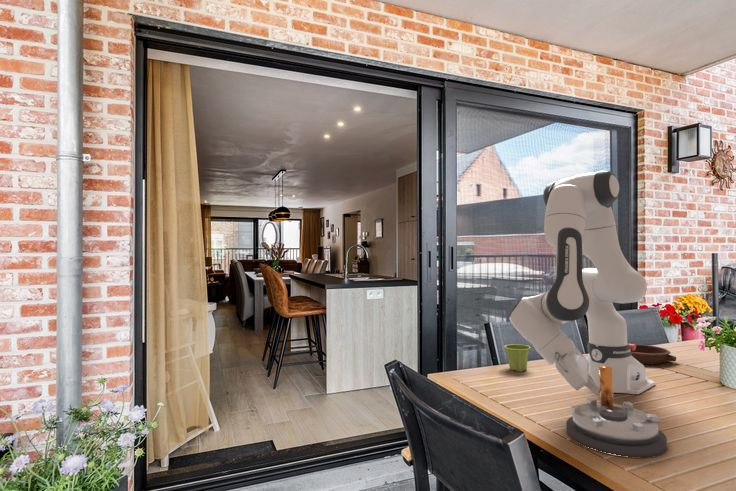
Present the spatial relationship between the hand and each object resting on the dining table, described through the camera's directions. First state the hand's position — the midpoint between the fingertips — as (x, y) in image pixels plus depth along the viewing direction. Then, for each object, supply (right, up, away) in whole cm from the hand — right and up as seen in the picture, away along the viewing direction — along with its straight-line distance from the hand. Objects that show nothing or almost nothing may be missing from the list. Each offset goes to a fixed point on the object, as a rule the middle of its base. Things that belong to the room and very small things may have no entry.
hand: (597, 391), depth 110 cm
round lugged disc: (-1, -6, -8) cm, 10 cm away
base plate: (0, -8, -8) cm, 12 cm away
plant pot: (-3, -9, +51) cm, 52 cm away
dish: (+50, -8, +58) cm, 77 cm away
